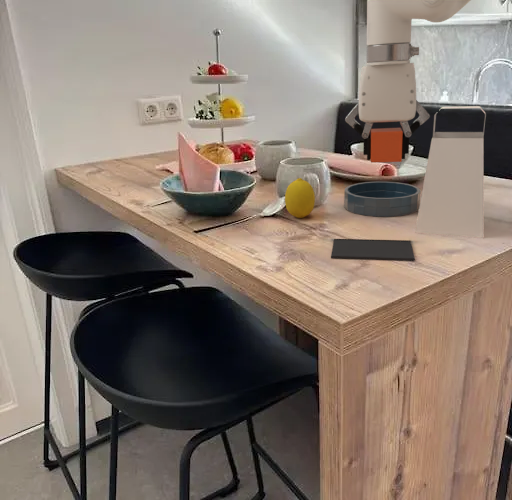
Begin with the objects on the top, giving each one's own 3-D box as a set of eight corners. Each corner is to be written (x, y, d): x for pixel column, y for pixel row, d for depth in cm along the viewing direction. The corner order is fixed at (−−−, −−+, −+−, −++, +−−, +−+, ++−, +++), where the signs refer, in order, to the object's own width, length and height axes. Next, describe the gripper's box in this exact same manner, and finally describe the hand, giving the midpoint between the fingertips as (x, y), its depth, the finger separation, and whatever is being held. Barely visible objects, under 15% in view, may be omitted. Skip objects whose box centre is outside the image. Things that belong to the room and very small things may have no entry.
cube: (399, 156, 97) (400, 127, 95) (401, 161, 92) (402, 131, 90) (370, 157, 98) (370, 128, 96) (370, 162, 93) (371, 132, 91)
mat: (409, 240, 80) (409, 238, 80) (414, 261, 72) (415, 258, 72) (334, 238, 83) (334, 236, 83) (331, 258, 75) (331, 255, 74)
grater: (420, 218, 91) (428, 105, 85) (483, 222, 88) (496, 104, 81) (414, 236, 82) (422, 110, 76) (483, 241, 78) (498, 109, 72)
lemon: (301, 214, 98) (300, 173, 95) (321, 220, 93) (321, 177, 91) (279, 220, 95) (278, 178, 92) (298, 226, 90) (297, 182, 88)
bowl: (415, 200, 103) (416, 181, 102) (422, 220, 90) (424, 198, 89) (345, 200, 106) (346, 181, 105) (342, 219, 93) (343, 198, 92)
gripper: (436, 53, 90) (430, 153, 96) (340, 59, 94) (340, 156, 100) (442, 52, 83) (435, 160, 89) (338, 59, 87) (338, 163, 93)
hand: (385, 157), depth 95 cm, fingers closed on cube, 5 cm apart
